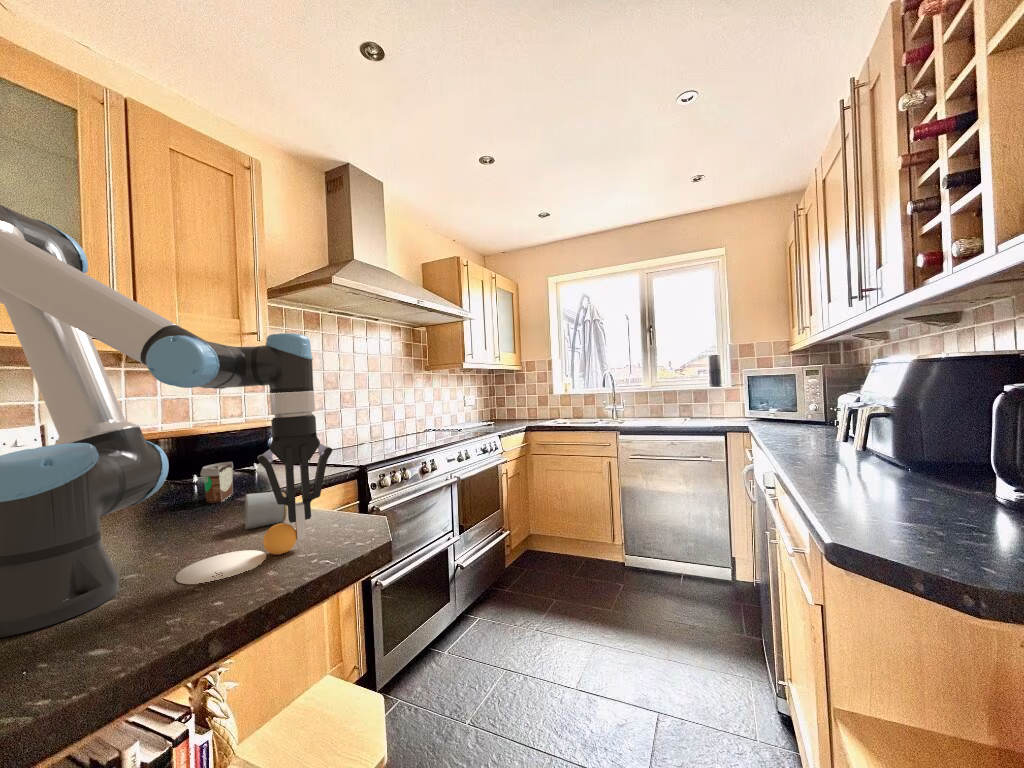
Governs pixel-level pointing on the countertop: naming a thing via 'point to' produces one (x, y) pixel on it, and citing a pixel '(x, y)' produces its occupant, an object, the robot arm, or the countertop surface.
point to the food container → (218, 481)
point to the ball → (280, 538)
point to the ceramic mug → (263, 510)
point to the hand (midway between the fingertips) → (301, 537)
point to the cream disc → (220, 566)
